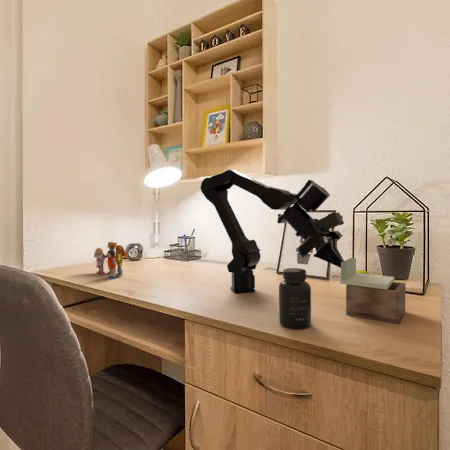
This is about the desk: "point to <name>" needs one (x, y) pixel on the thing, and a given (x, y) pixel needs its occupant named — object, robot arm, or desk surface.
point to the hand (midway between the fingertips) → (345, 267)
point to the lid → (362, 277)
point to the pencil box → (376, 302)
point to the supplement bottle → (294, 299)
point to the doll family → (111, 259)
